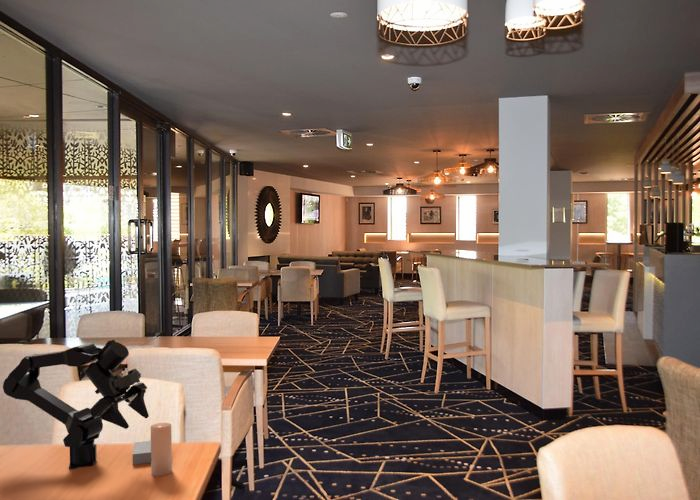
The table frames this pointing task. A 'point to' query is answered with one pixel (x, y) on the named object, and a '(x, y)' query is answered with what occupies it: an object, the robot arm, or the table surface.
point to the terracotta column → (161, 449)
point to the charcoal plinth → (142, 452)
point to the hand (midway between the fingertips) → (137, 422)
